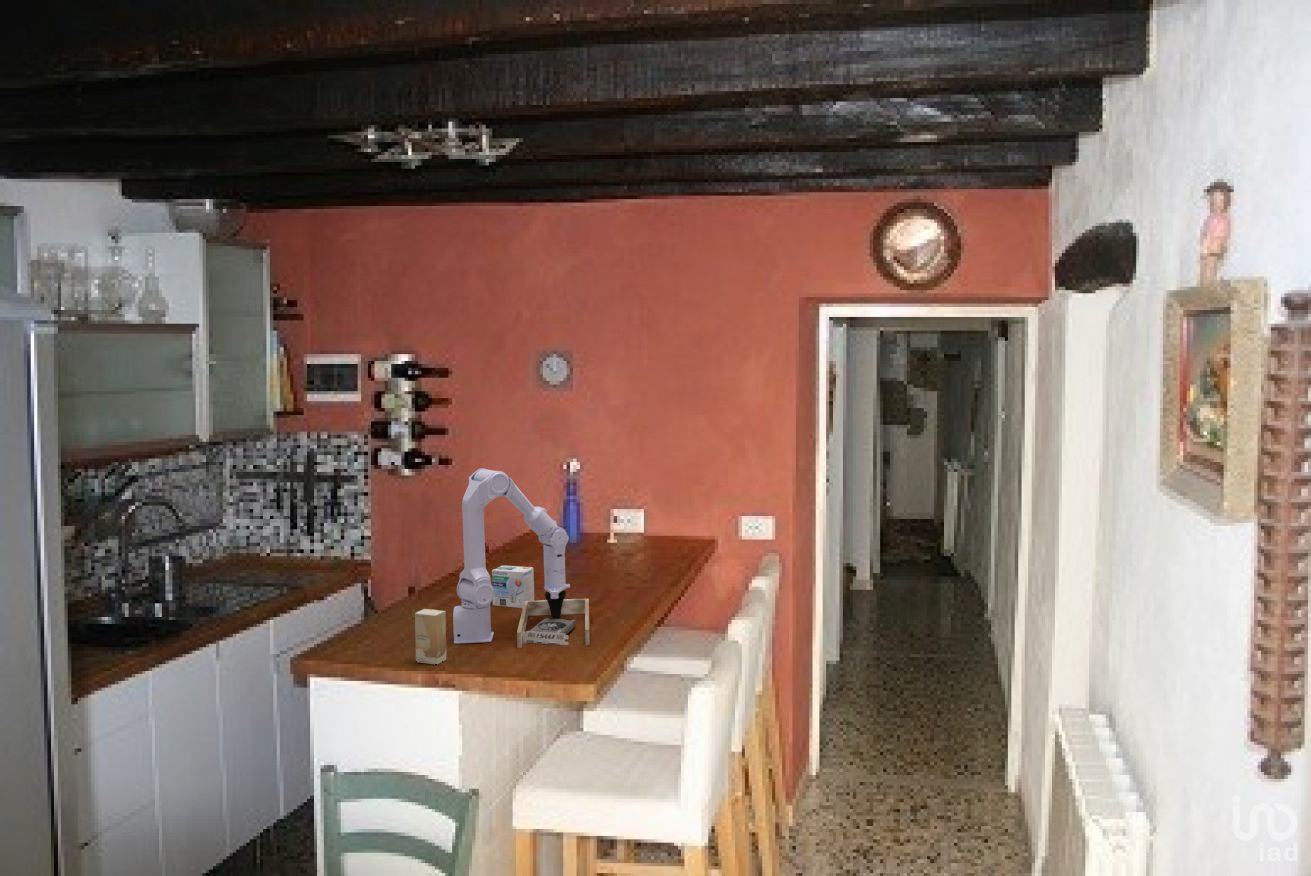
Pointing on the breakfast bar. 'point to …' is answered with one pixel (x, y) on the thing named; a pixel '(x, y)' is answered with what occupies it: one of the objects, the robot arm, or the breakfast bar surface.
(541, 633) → the graphics card
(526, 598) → the light bulb box
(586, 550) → the breakfast bar surface
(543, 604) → the wooden frame
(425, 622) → the skincare box
